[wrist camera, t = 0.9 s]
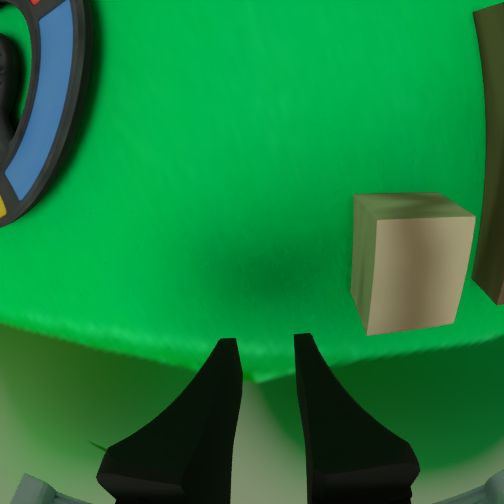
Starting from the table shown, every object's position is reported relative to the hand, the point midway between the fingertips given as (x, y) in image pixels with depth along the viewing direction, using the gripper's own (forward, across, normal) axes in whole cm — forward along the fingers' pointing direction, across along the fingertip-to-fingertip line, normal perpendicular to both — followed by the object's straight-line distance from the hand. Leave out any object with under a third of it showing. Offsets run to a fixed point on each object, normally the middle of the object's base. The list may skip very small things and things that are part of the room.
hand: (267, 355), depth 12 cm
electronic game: (+10, +20, -16) cm, 28 cm away
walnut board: (+9, -17, -6) cm, 20 cm away
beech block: (+10, -8, 0) cm, 13 cm away
